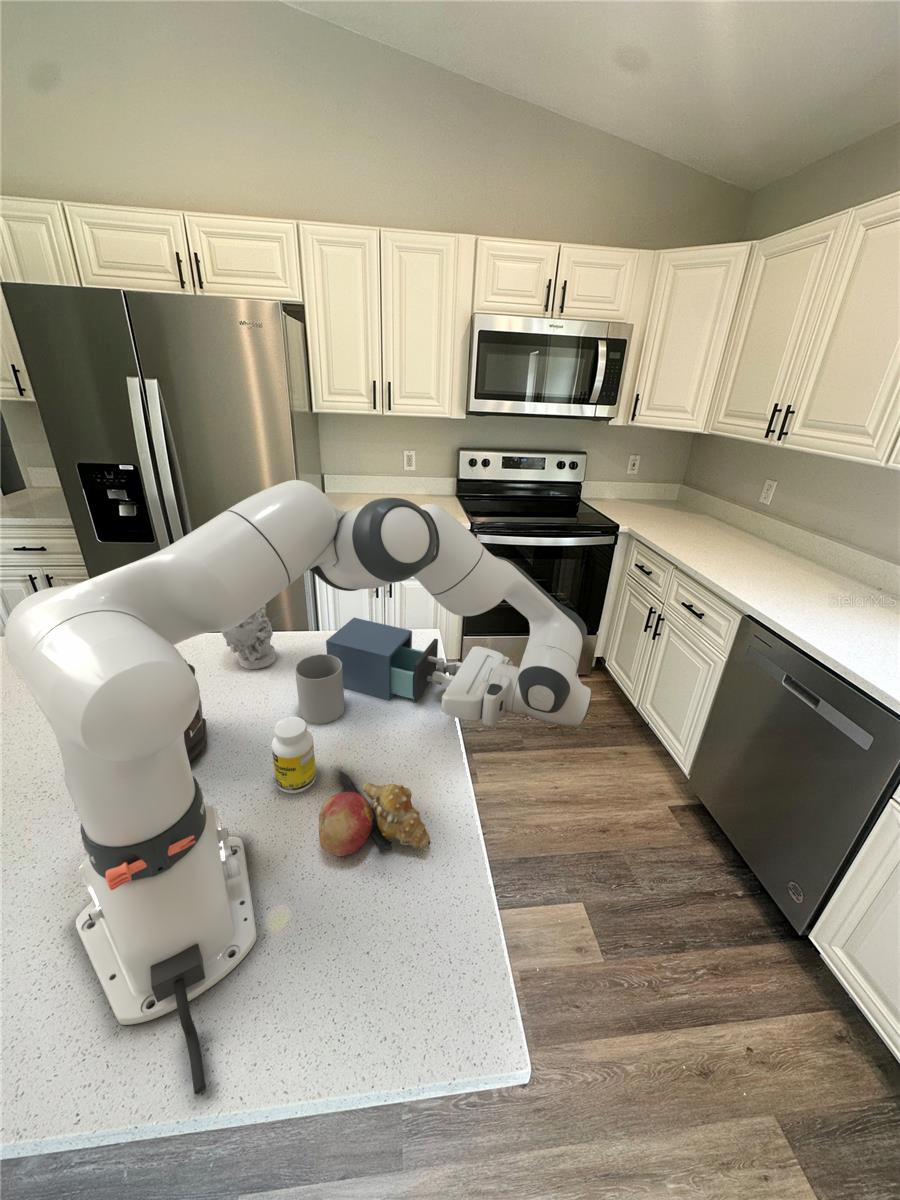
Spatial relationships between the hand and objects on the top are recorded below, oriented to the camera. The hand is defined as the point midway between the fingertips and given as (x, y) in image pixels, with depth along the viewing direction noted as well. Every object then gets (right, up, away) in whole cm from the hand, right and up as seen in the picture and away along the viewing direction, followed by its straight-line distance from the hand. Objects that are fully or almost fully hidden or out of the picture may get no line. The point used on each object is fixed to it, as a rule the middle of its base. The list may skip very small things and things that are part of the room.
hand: (436, 670), depth 98 cm
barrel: (-47, -12, -16) cm, 51 cm away
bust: (-37, +3, +19) cm, 41 cm away
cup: (-22, -7, -3) cm, 23 cm away
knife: (-11, -18, -24) cm, 32 cm away
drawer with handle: (-7, -3, +4) cm, 9 cm away
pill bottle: (-22, -15, -19) cm, 33 cm away
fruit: (-13, -15, -27) cm, 33 cm away
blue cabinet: (-14, -3, +7) cm, 16 cm away
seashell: (-10, -17, -26) cm, 33 cm away
